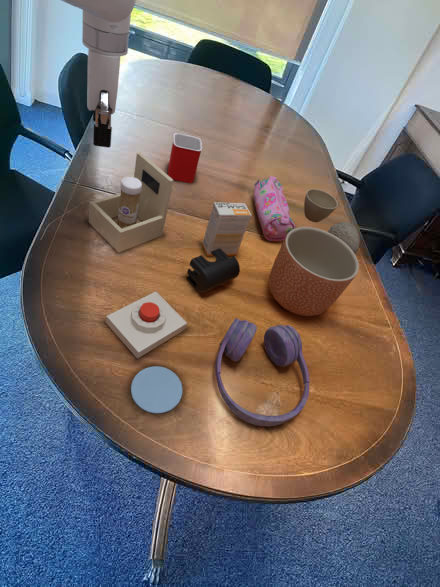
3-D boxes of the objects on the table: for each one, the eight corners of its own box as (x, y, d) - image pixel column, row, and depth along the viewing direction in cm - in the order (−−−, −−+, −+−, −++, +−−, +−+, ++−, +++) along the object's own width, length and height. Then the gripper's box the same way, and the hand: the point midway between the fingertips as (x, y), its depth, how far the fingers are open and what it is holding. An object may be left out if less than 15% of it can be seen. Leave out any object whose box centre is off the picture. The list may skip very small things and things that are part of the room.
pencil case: (248, 196, 119) (258, 170, 113) (276, 202, 121) (287, 177, 115) (256, 241, 105) (268, 214, 98) (288, 247, 107) (301, 221, 101)
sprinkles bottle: (115, 233, 92) (119, 185, 83) (118, 221, 95) (122, 173, 86) (134, 236, 93) (141, 189, 84) (136, 225, 96) (143, 178, 87)
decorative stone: (315, 240, 113) (330, 212, 106) (340, 244, 115) (357, 217, 108) (324, 264, 106) (342, 237, 99) (351, 268, 108) (370, 241, 101)
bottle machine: (118, 252, 88) (124, 193, 77) (88, 222, 92) (90, 162, 81) (162, 235, 96) (173, 180, 85) (133, 208, 100) (140, 151, 89)
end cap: (203, 300, 85) (210, 279, 80) (183, 279, 88) (189, 257, 83) (234, 284, 91) (243, 264, 86) (215, 265, 94) (223, 244, 89)
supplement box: (230, 243, 101) (245, 202, 92) (236, 256, 98) (252, 215, 89) (200, 243, 98) (213, 201, 89) (206, 256, 95) (219, 214, 86)
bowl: (319, 208, 126) (329, 190, 121) (331, 228, 120) (343, 209, 114) (292, 206, 122) (302, 187, 117) (304, 226, 116) (314, 207, 111)
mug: (194, 184, 115) (202, 152, 108) (166, 179, 113) (173, 145, 106) (193, 163, 123) (200, 132, 116) (167, 158, 121) (173, 125, 114)
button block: (137, 359, 71) (139, 346, 68) (105, 322, 74) (106, 309, 72) (185, 329, 78) (189, 317, 76) (154, 297, 82) (157, 285, 79)
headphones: (211, 327, 80) (210, 426, 69) (221, 307, 73) (222, 413, 62) (292, 338, 84) (304, 433, 73) (309, 319, 77) (325, 421, 66)
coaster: (152, 424, 64) (153, 423, 63) (120, 384, 67) (120, 383, 67) (192, 394, 69) (192, 393, 69) (160, 359, 72) (160, 357, 72)
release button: (147, 325, 72) (148, 319, 71) (135, 312, 73) (136, 307, 72) (162, 317, 74) (163, 311, 73) (150, 305, 76) (151, 299, 74)
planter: (333, 293, 99) (364, 249, 88) (318, 338, 87) (352, 293, 76) (273, 263, 101) (297, 216, 90) (251, 302, 89) (275, 254, 78)
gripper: (82, 16, 70) (82, 110, 82) (81, 51, 59) (81, 153, 71) (125, 26, 72) (118, 116, 84) (131, 61, 61) (122, 159, 74)
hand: (101, 133), depth 78 cm, fingers open, 9 cm apart
